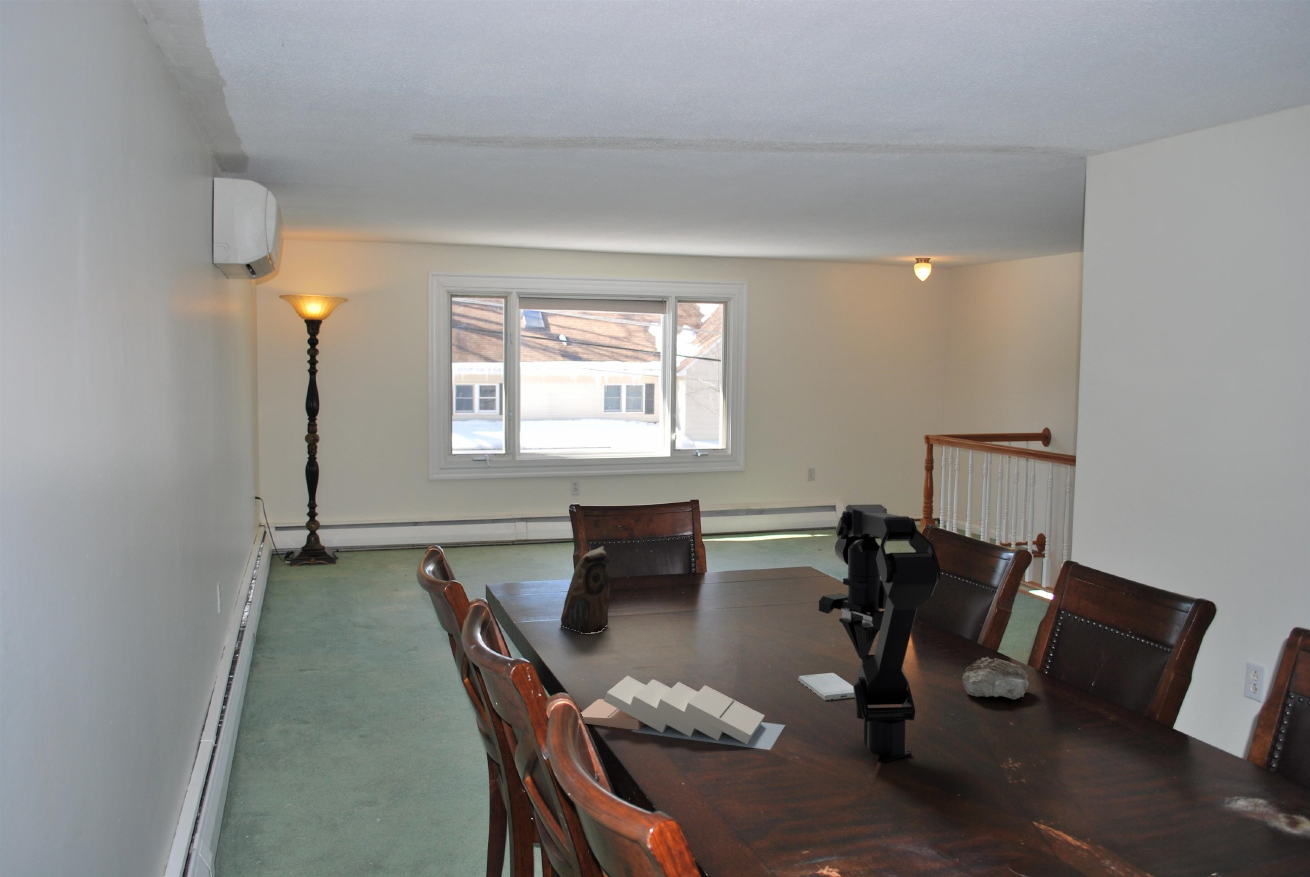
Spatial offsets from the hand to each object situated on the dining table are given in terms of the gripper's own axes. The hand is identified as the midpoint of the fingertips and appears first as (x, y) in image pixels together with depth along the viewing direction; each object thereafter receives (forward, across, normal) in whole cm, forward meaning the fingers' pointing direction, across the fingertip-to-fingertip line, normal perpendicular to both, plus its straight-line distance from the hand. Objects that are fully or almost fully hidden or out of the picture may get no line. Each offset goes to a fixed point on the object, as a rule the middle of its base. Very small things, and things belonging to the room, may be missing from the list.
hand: (863, 658), depth 172 cm
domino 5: (+10, +4, +21) cm, 24 cm away
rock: (+12, -2, -34) cm, 36 cm away
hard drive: (+13, +18, -8) cm, 24 cm away
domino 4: (+10, +8, +24) cm, 27 cm away
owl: (+12, +86, +14) cm, 88 cm away
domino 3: (+10, +12, +27) cm, 32 cm away
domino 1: (+10, +19, +34) cm, 40 cm away
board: (+12, +11, +26) cm, 31 cm away
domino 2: (+10, +16, +31) cm, 36 cm away
